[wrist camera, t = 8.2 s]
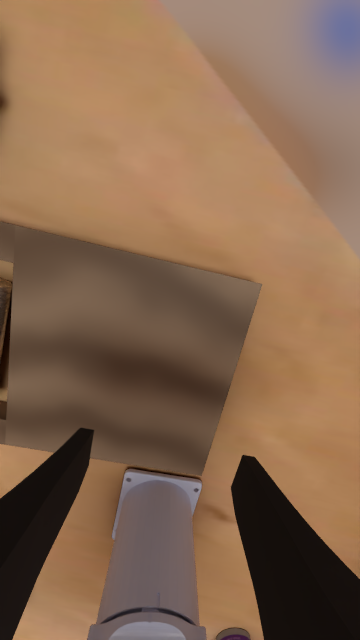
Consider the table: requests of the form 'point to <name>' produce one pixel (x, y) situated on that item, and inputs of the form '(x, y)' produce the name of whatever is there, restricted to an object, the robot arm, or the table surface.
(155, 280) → the grey brown board
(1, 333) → the roller
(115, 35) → the table surface
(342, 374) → the table surface
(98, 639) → the robot arm
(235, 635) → the container
